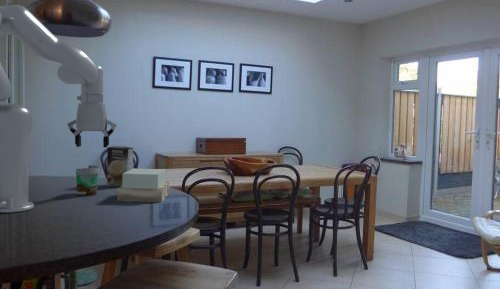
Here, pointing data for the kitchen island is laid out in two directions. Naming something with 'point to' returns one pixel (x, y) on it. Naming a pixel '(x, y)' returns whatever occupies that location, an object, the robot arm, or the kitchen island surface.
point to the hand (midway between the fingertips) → (92, 146)
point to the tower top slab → (143, 178)
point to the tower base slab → (143, 194)
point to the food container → (87, 180)
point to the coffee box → (118, 164)
